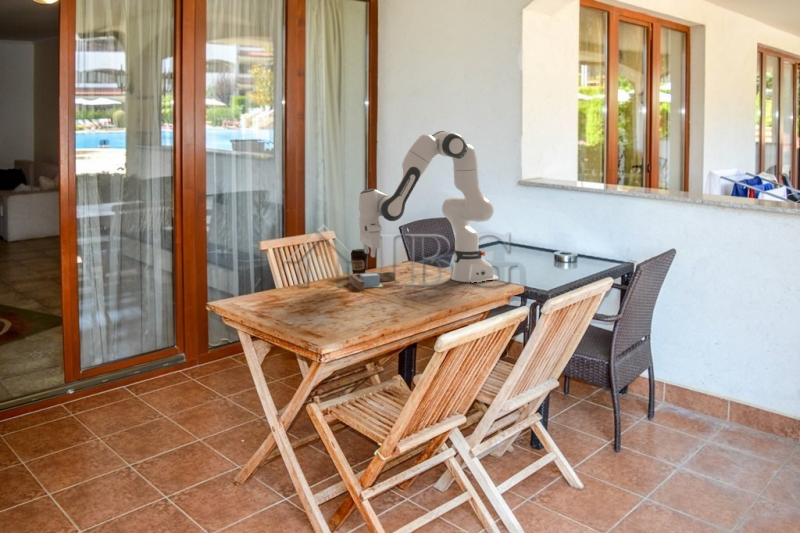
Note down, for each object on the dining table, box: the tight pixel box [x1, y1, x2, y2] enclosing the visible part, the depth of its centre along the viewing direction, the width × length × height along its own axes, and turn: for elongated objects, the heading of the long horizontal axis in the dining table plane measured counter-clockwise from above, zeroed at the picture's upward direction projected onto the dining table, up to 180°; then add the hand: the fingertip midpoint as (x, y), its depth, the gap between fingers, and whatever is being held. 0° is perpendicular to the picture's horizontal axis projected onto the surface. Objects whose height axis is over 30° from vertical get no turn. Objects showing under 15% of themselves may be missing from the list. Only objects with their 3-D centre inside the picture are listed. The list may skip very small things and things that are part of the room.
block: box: [360, 272, 381, 288], centre depth 344 cm, size 4×8×5 cm, turn 111°
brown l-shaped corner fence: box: [348, 270, 396, 292], centre depth 347 cm, size 22×18×4 cm
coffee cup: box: [350, 248, 369, 274], centre depth 366 cm, size 9×8×13 cm
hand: (369, 255), depth 343 cm, fingers open, 8 cm apart
